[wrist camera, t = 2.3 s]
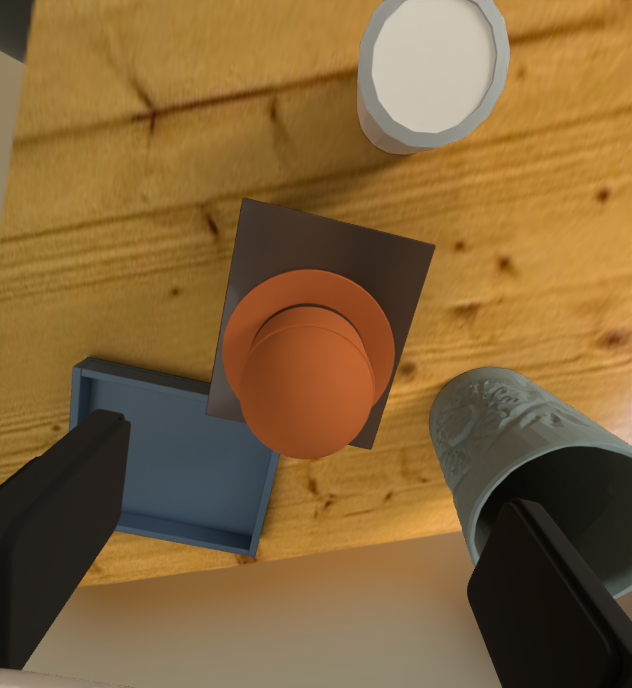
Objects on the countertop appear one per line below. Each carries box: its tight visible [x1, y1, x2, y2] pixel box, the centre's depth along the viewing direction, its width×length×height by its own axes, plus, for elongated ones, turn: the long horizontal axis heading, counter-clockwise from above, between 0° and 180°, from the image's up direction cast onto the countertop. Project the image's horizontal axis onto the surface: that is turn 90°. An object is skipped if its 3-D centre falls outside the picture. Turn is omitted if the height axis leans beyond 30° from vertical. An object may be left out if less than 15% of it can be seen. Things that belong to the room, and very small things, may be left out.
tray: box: [69, 357, 280, 557], centre depth 31 cm, size 15×13×2 cm
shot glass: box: [357, 0, 510, 155], centre depth 22 cm, size 7×7×7 cm
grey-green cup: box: [429, 367, 632, 599], centre depth 26 cm, size 10×10×12 cm
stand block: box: [205, 198, 436, 450], centre depth 24 cm, size 9×11×9 cm
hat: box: [222, 269, 395, 459], centre depth 17 cm, size 8×8×7 cm
